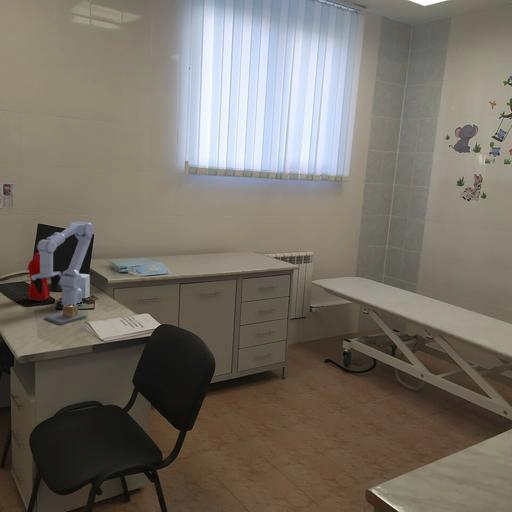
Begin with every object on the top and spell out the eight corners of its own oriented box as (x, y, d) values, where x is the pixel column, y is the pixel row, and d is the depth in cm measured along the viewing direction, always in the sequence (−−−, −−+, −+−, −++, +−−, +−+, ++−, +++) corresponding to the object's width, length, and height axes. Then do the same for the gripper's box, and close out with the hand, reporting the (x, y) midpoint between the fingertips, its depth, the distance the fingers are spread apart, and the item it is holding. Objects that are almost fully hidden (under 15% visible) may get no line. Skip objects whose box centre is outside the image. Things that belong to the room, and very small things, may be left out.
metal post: (70, 317, 238) (70, 305, 237) (73, 318, 237) (73, 305, 236) (67, 317, 236) (67, 305, 235) (69, 318, 235) (70, 306, 234)
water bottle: (31, 296, 267) (30, 250, 262) (51, 297, 266) (51, 252, 262) (22, 301, 257) (22, 253, 253) (43, 302, 257) (43, 255, 253)
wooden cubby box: (68, 313, 239) (68, 303, 238) (77, 314, 238) (78, 304, 237) (62, 316, 234) (62, 306, 233) (72, 317, 233) (72, 307, 233)
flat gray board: (70, 312, 244) (70, 310, 244) (86, 318, 238) (86, 315, 238) (44, 318, 233) (44, 316, 233) (60, 324, 226) (60, 322, 226)
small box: (78, 296, 272) (78, 273, 270) (89, 297, 273) (90, 274, 270) (73, 300, 264) (73, 276, 262) (85, 301, 265) (85, 277, 262)
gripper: (54, 261, 245) (54, 288, 248) (27, 265, 233) (27, 293, 236) (63, 263, 241) (63, 290, 244) (36, 267, 229) (36, 296, 232)
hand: (46, 292), depth 239 cm, fingers open, 7 cm apart
